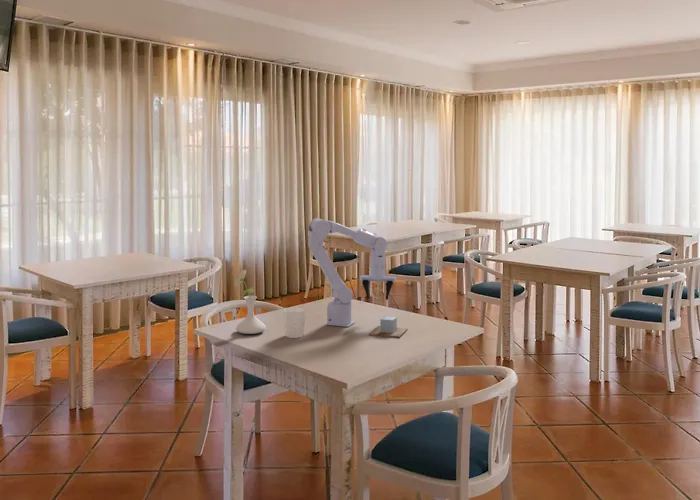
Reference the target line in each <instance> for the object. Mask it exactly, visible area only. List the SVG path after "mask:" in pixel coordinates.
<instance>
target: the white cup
mask: <svg viewBox="0 0 700 500" xmlns="http://www.w3.org/2000/svg"><path fill="white" fill-rule="evenodd" d="M305 313H306V309H305V308H303V307H287V308H284V309H283V317H284V318H283V320H284V330H285V333H284V334H285V337H286V338H289V339H299V337H300V338H303V337H304V335H305V321H306V320H305V319H306V318H305V317H306V314H305Z"/></svg>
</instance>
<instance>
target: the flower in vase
mask: <svg viewBox="0 0 700 500" xmlns="http://www.w3.org/2000/svg"><path fill="white" fill-rule="evenodd" d="M246 275H247V270H246V269H243V270H241V271H240V273H239V275H237V276H236V279H235V280H234V282H233V287H234V288H237V287H238V286H240V285H241V283H242V282H243V284H244V286H245V290H243V291H242V292H241V293H240V297H243V299H244V300H245V302H246V307H247V315H246V316H245V318H244V319H243V320H241V322H239V323H238V324H237V325H236V328H235V330H236V331H237V332H238V333H241V334H246V335H256V334H260V333H262V332H264V331H265V330H266V328H267V326H266V324H265V323H263V321H261V320H259V319H258V318H257V317H256V316H255V313H254V307H255V301H256V299H257V298H258V296H256V295H252V294H254V292H255V290H254V287H253V286H250V288H248V287H247V284H246V282H245V280H244V279H245V277H246ZM246 294H247V295H246ZM245 295H246V296H245Z"/></svg>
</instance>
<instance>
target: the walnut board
mask: <svg viewBox="0 0 700 500" xmlns="http://www.w3.org/2000/svg"><path fill="white" fill-rule="evenodd" d="M408 329H409V328H407V327H397V330H396V331H395V332H394V333H386V332H380V325H377V326H376V327H375V328H373V330H371V331H370V332H369V333H368V336H373V337H383V338H395V339H401V337H402V336H403V335H405V333H407V331H408Z"/></svg>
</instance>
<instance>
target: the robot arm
mask: <svg viewBox="0 0 700 500" xmlns="http://www.w3.org/2000/svg"><path fill="white" fill-rule="evenodd" d="M307 231H308V235H307V236H308V239H307V241H308V242H307V245H308V248H309V250H310V252H311V253H312V255H313V257H314V258H315V260H316V262H317V264H318V265H319V267H320V269H321V270H322V272H323V275H324V277H326V280H327V281H328V283H329V286H330V287H329V288H331V294H332V296H333V298H334V299H333V301H329V302H328V304H327V307H326V324H325V325H326V326H335V327H345V328H346V327H347V328H349V327H350V326H352V325H354V323H356V321H355V320H352V301H353V297H354V291H353V290H352V289H350V288H349V287H348V285H346V283H345V282H344V280H343V279H342V278H341V276H340V275H339V273H338V271H337V269H336V267H335V265H334V264H333V262H332V261H331V259H330V257H329V255H328V253H327V252H326V250H325V248H324V246H323V244H324V241H325V239H326V237H327V236H328V235H329V234H334V233H339V234H341V235H343V236H344V235H345V236H347V237H349V238H352V240H353V242H355V243H357V244H358V245H362V246H364V247H366V248H370V275H368V274H367V275H366V274H365V275H359V282H361V284H362V286H363V289H364V291H365V294H366V299H367V300H369V299H371V298H370V297H371V289H370V288H371V282H385V300H387V301H388V300H389V298H390V297H389V295H390V293H391V289H392V287H393V285H394V283H396V282H397V277H396V276H392V275H391V276H389V275H386V250H387V247H388V246H389V245H388V243H387V240H386V239H385V238H384V237H382V236H379V235H377V233H375V232H374V233H371V232H369V231H367V229H366V228H362V229H361V228H358V229H357V230H356V229H352V228H350V227H348V226H345V225H343V224H340V223H338V222H335V221H332V220H328V219H322V218H320V217H315V218H313V219H312V220H311V221H310V223H309V225H308V227H307Z"/></svg>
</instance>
